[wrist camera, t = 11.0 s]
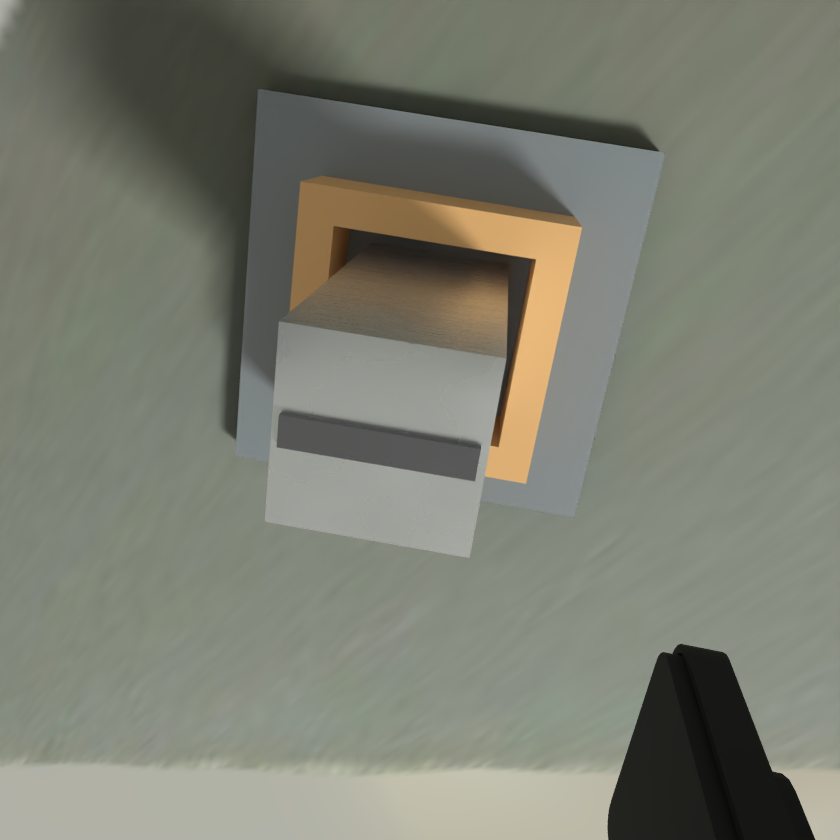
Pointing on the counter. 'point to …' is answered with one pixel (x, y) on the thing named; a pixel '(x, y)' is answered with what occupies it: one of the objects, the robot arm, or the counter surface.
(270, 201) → the collar plate
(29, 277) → the counter surface
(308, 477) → the block
